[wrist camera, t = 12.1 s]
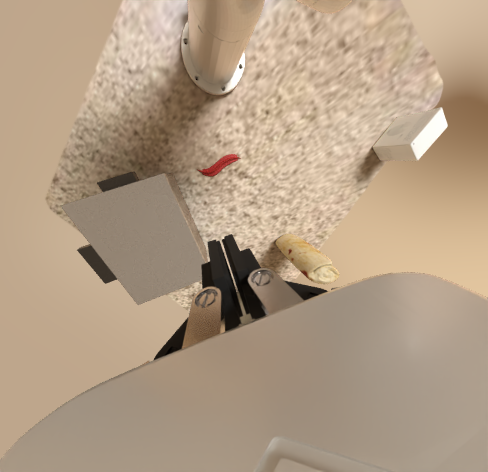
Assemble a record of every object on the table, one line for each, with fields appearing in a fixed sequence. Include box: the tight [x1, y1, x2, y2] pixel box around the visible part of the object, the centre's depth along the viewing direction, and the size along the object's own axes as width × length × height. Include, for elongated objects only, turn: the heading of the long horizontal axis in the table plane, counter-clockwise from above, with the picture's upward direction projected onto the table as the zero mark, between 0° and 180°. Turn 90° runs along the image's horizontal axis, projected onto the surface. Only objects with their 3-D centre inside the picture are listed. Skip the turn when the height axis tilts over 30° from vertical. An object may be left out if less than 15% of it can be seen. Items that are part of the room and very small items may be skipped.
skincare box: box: [372, 108, 447, 161], centre depth 48 cm, size 10×6×10 cm, turn 142°
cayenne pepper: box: [199, 154, 241, 176], centre depth 43 cm, size 12×5×2 cm, turn 95°
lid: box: [61, 173, 206, 305], centre depth 34 cm, size 23×19×1 cm
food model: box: [276, 234, 339, 284], centre depth 49 cm, size 10×7×20 cm
